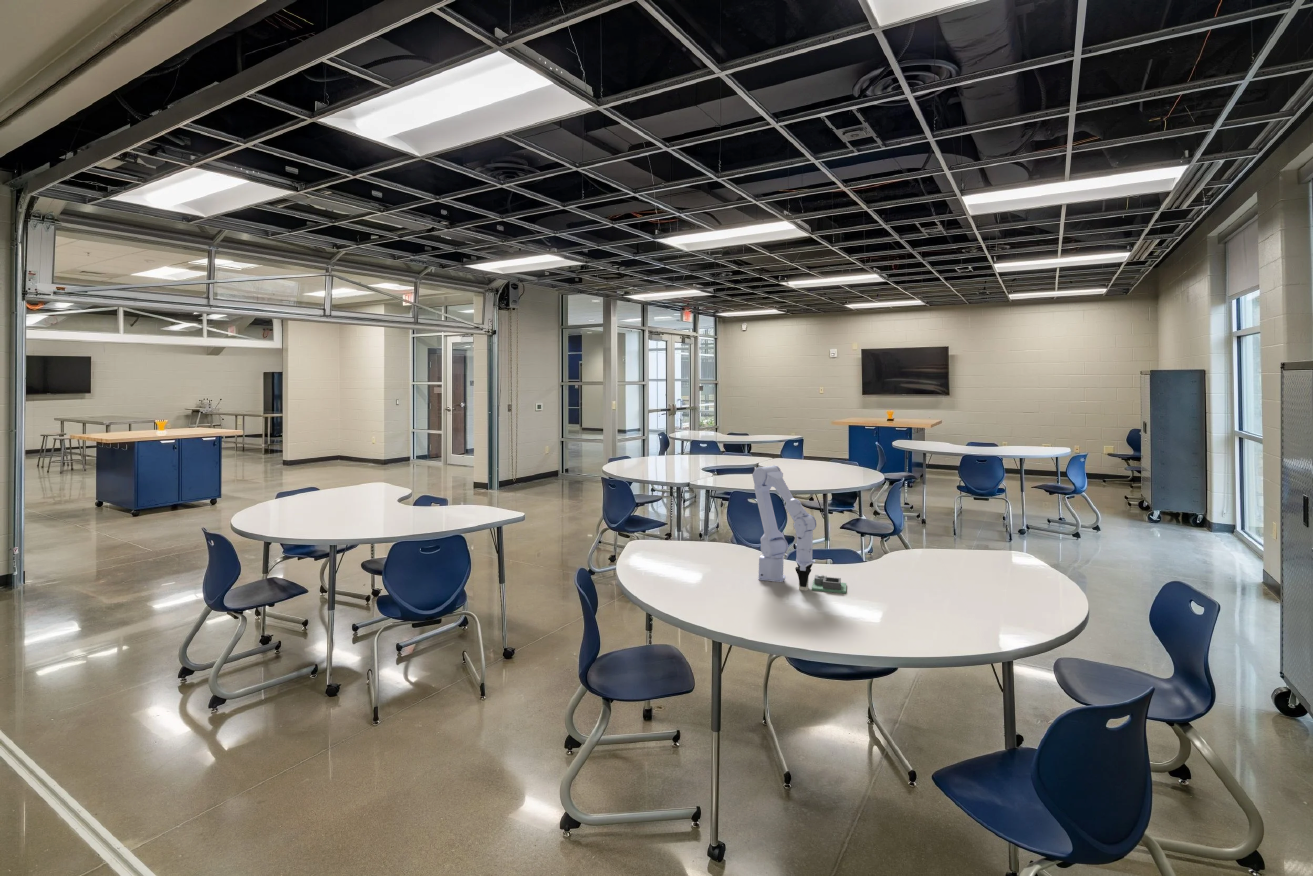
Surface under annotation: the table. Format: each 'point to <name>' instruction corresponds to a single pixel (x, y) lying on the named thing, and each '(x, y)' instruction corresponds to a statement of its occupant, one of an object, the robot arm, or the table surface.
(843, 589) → the board
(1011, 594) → the table surface
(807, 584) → the plug
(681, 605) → the table surface
